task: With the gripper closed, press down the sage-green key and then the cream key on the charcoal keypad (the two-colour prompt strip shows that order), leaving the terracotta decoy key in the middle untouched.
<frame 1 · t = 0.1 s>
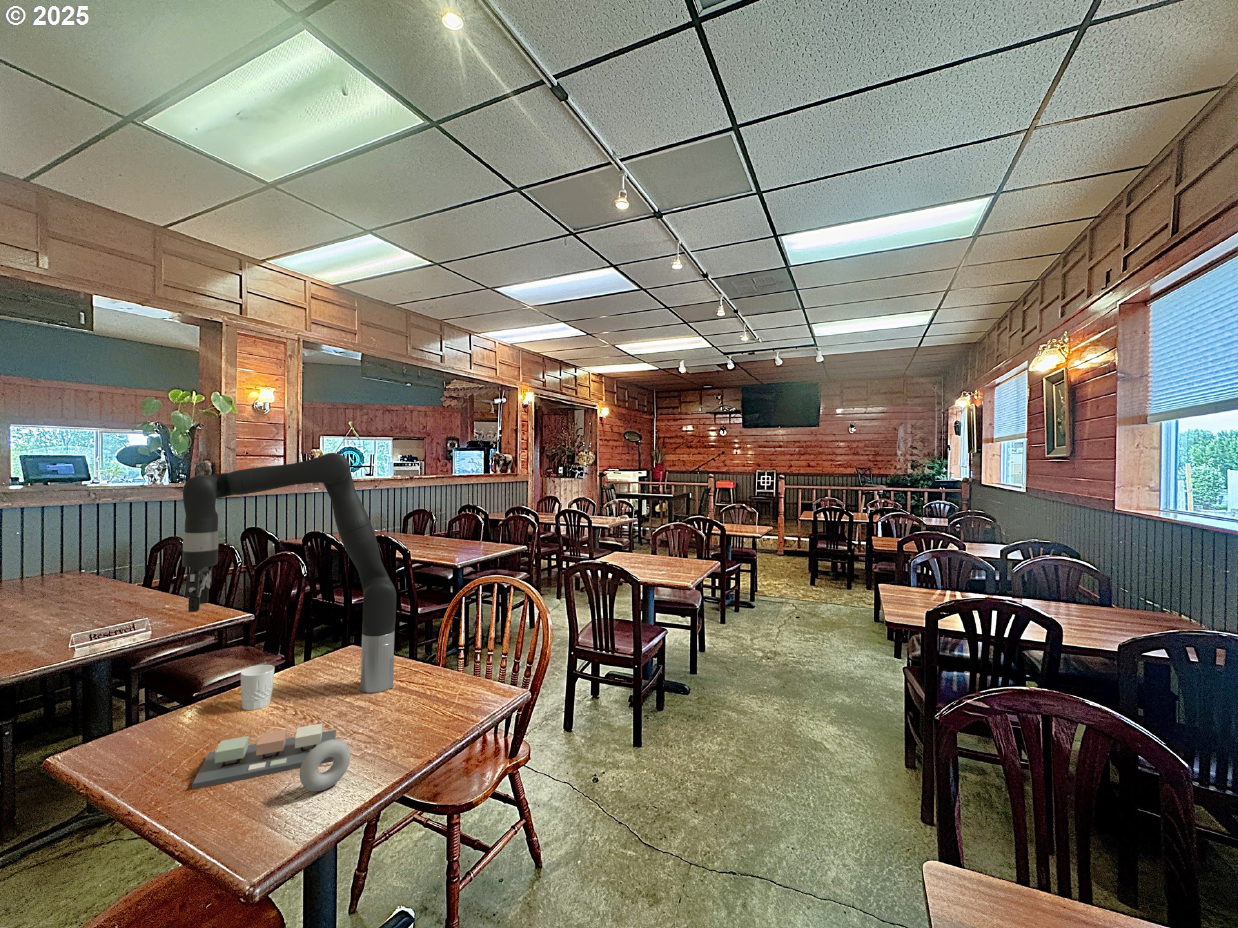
hand: (198, 607, 138), 29 cm above the table, fingers open, 8 cm apart
keypad plate: (271, 759, 119), on the table
cream key: (308, 738, 122), point 3 cm above the table, slide at 0.0 cm
decoy key: (271, 745, 119), point 3 cm above the table, slide at 0.0 cm
sage key: (232, 752, 115), point 3 cm above the table, slide at 0.0 cm
white cup: (256, 705, 144), on the table
donut: (325, 788, 109), on the table
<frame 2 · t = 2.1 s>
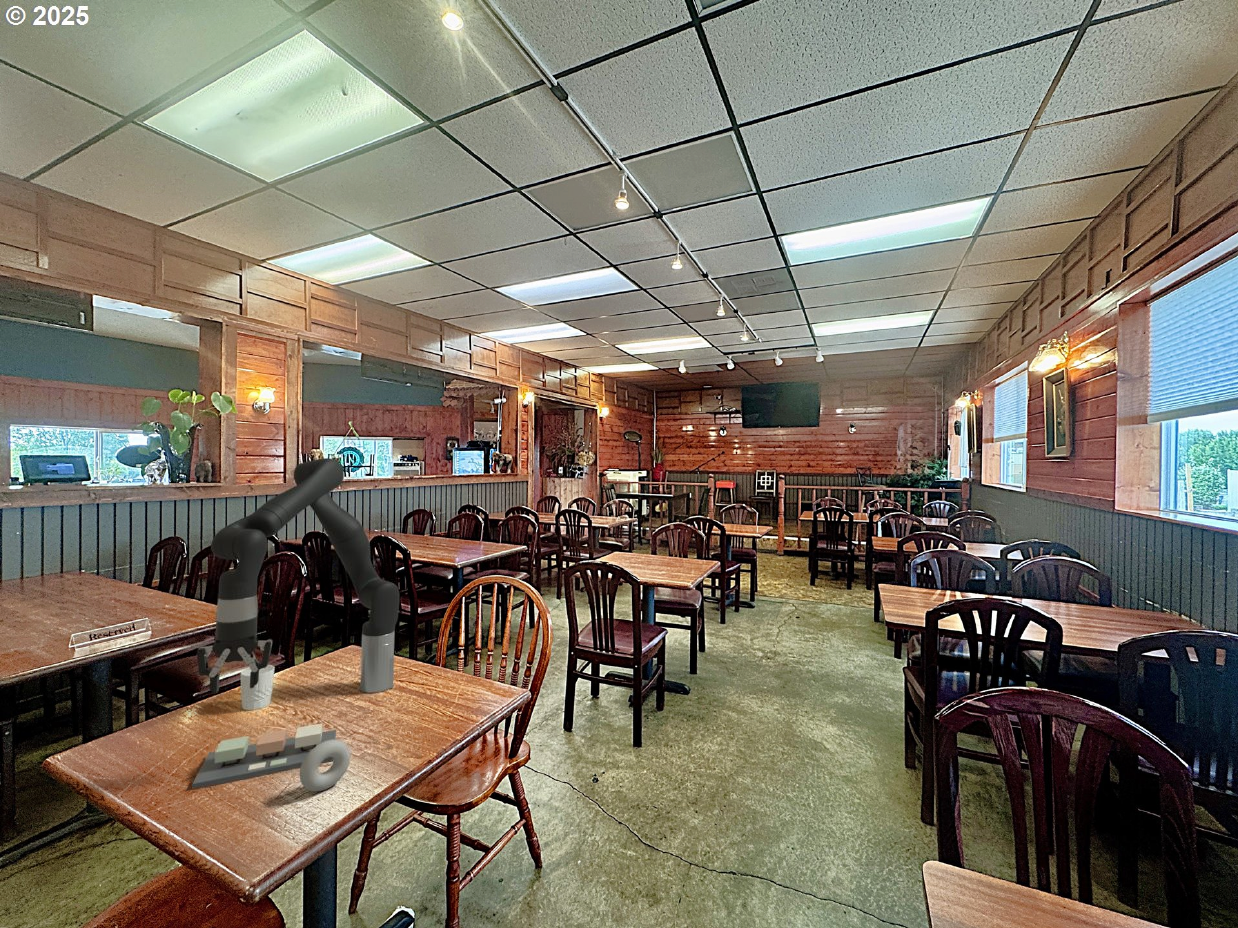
hand: (234, 689, 115), 18 cm above the table, fingers open, 6 cm apart
nothing on the table moved.
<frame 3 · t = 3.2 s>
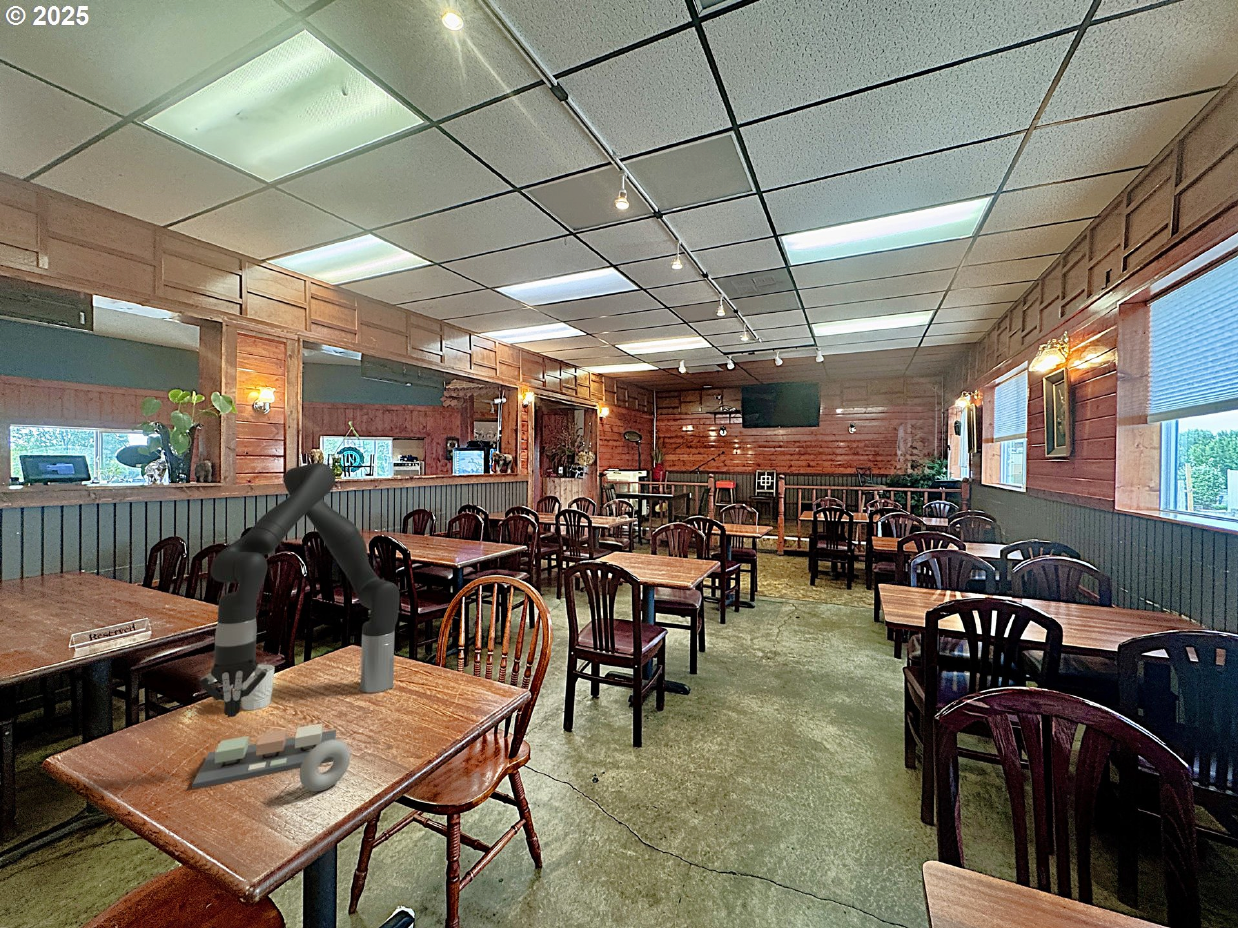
hand: (232, 715, 115), 12 cm above the table, fingers closed
nothing on the table moved.
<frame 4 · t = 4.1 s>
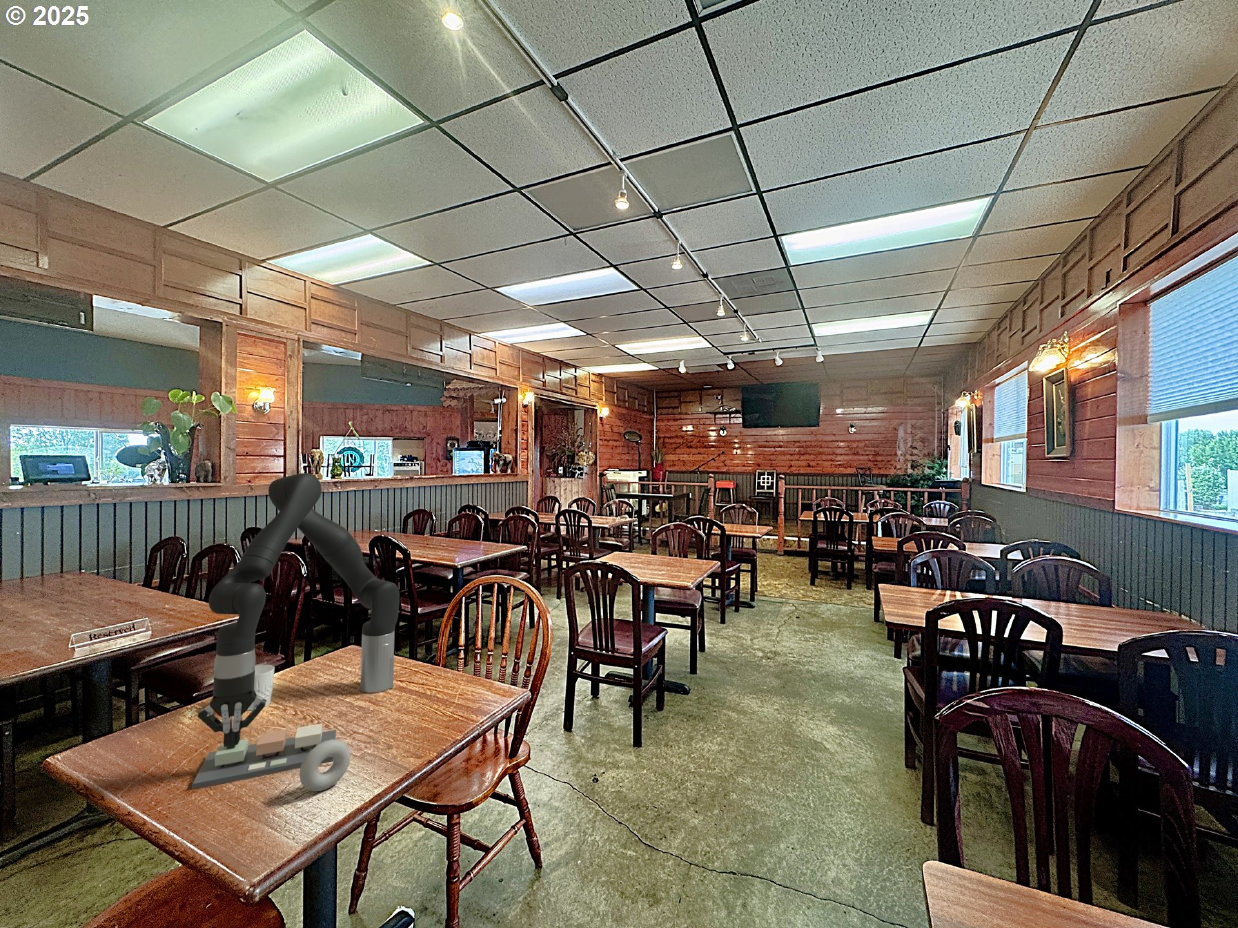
hand: (231, 746, 115), 5 cm above the table, fingers closed
sage key: (232, 754, 115), point 3 cm above the table, slide at 0.6 cm, touching gripper
everything else where it was.
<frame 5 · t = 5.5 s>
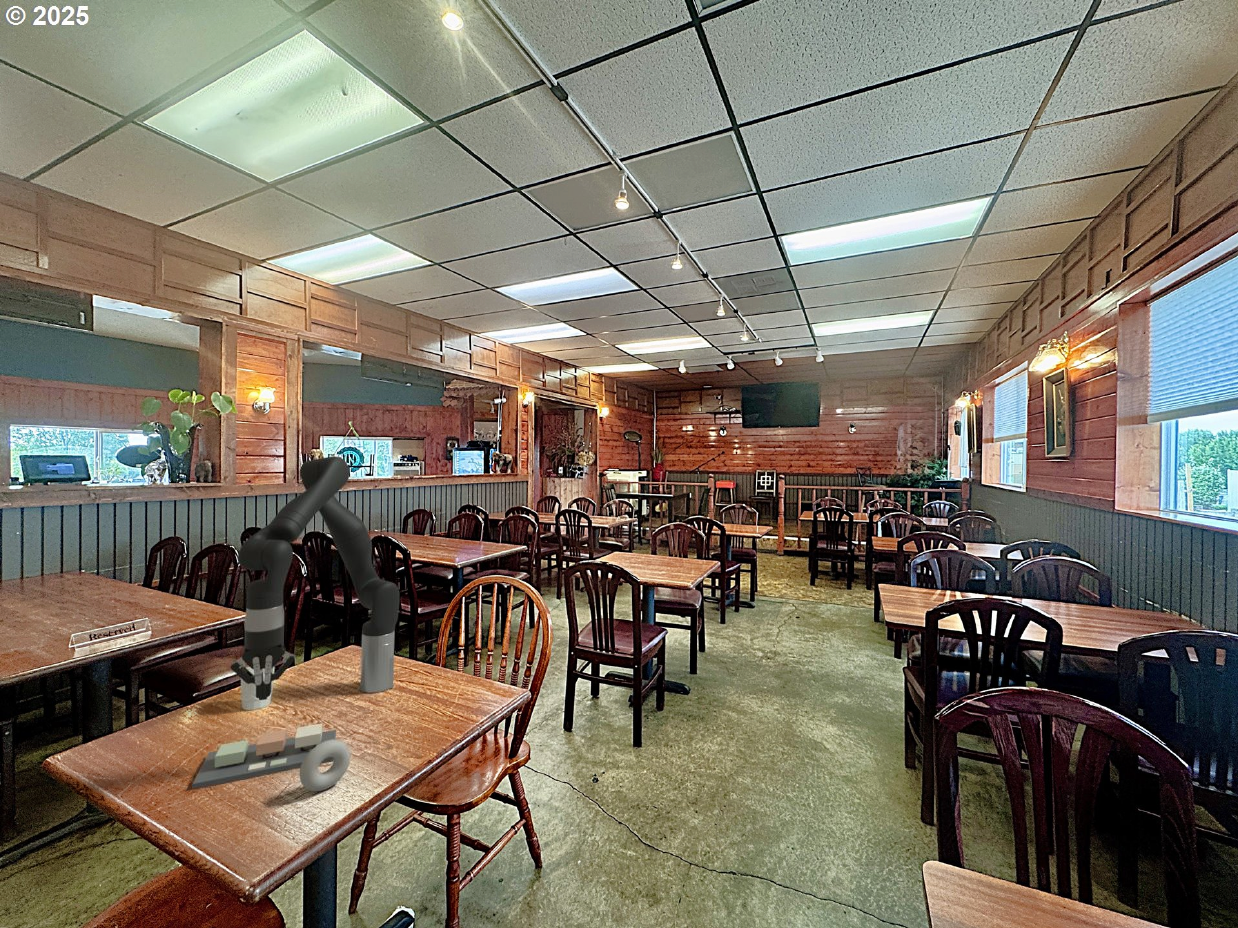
hand: (263, 698, 118), 14 cm above the table, fingers closed
sage key: (232, 756, 115), point 2 cm above the table, slide at 0.9 cm
everything else where it was.
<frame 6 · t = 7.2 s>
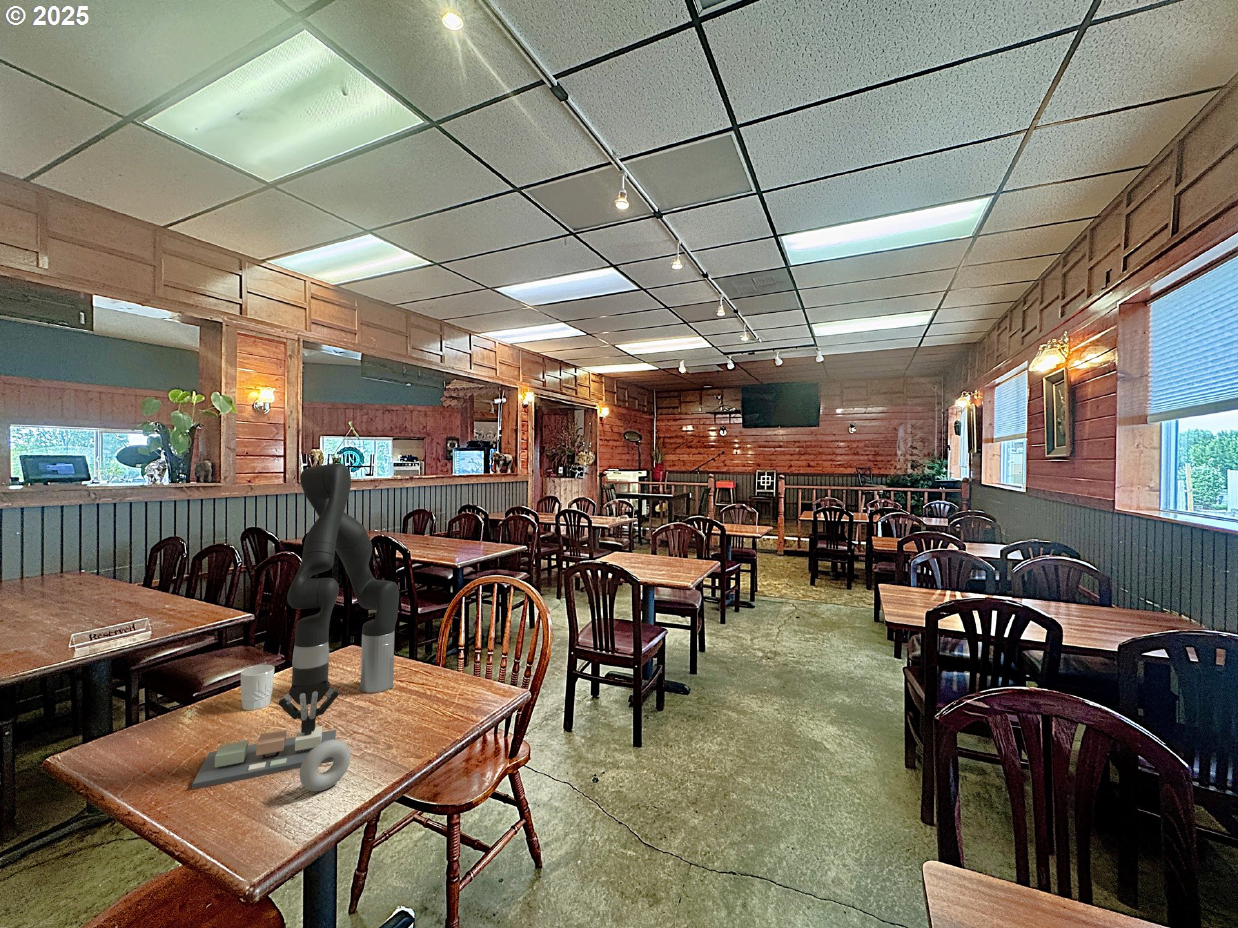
hand: (308, 733, 122), 5 cm above the table, fingers closed
cream key: (308, 740, 122), point 3 cm above the table, slide at 0.6 cm, touching gripper
everything else where it was.
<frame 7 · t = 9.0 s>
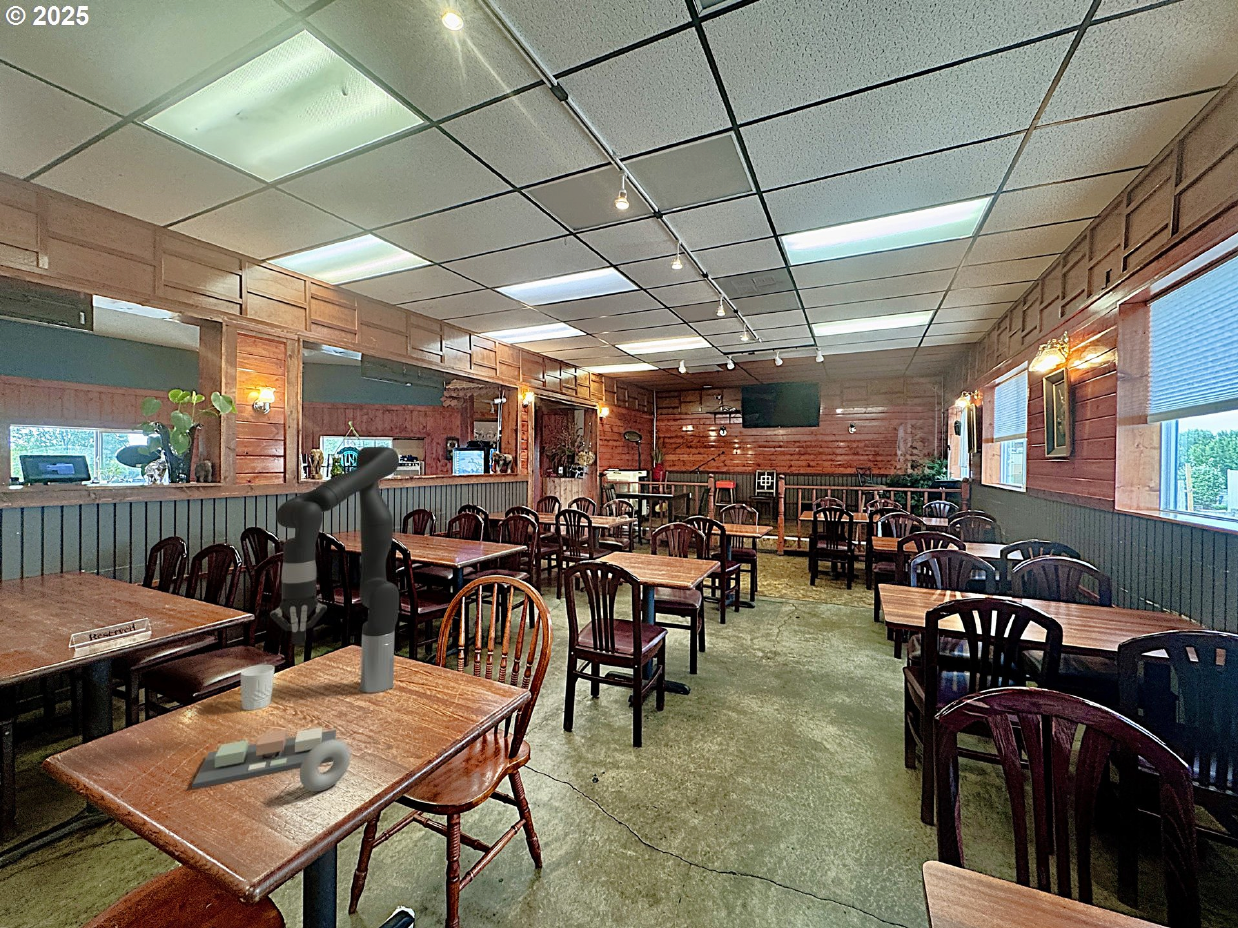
hand: (299, 644, 131), 23 cm above the table, fingers closed
cream key: (308, 742, 122), point 2 cm above the table, slide at 0.9 cm
everything else where it was.
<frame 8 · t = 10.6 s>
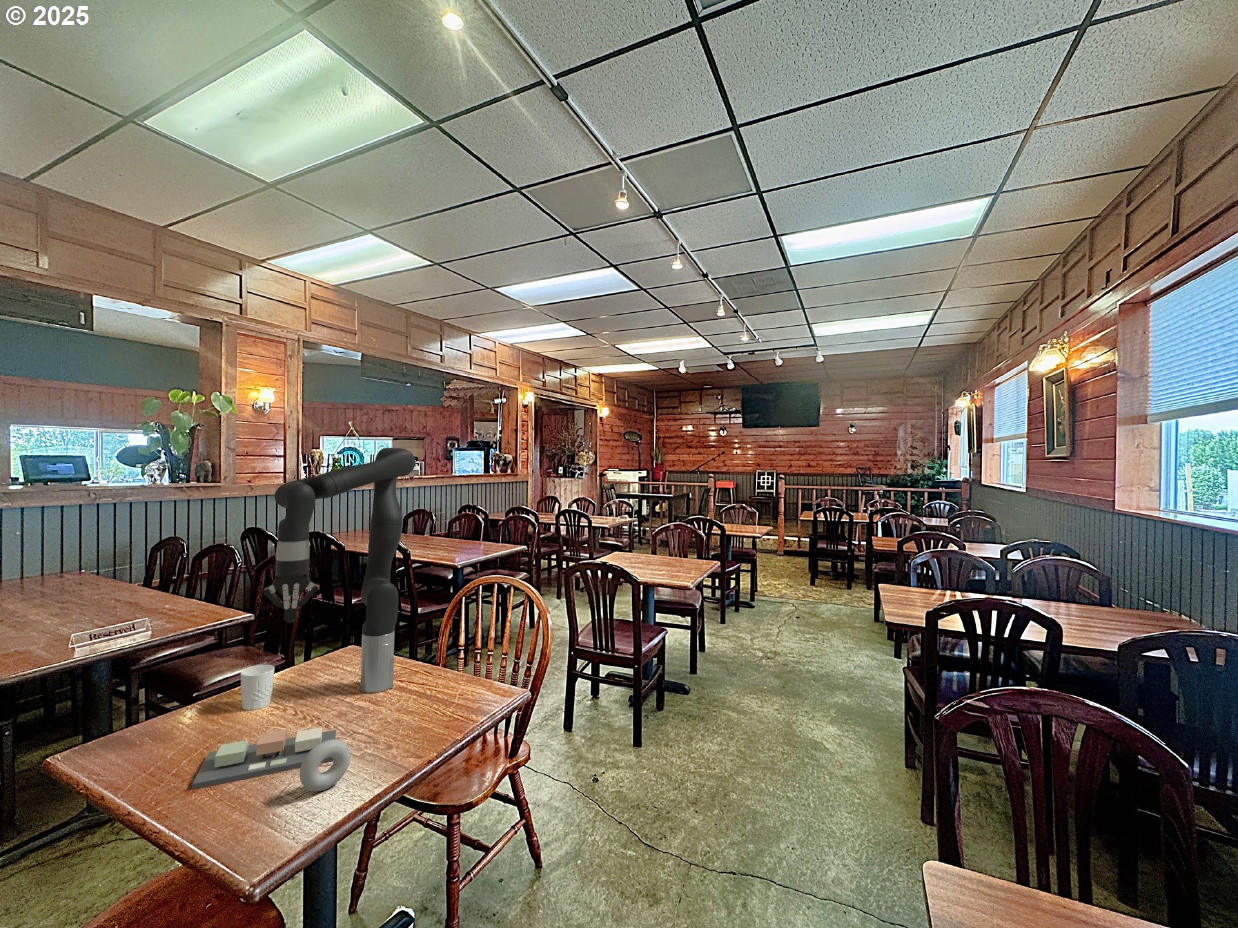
hand: (290, 621, 135), 27 cm above the table, fingers closed
nothing on the table moved.
at the end: sage key slide at 0.9 cm; cream key slide at 0.9 cm; decoy key slide at 0.0 cm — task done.
